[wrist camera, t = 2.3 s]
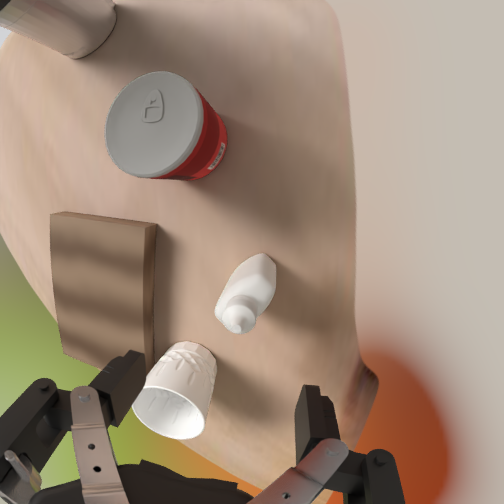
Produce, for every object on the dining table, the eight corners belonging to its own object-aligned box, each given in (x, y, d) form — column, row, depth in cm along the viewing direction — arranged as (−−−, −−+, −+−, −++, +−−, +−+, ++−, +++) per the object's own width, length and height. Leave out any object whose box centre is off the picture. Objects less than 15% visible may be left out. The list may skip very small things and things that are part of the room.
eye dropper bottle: (282, 288, 30) (284, 348, 18) (232, 299, 31) (207, 361, 19) (272, 249, 29) (269, 290, 18) (220, 262, 30) (187, 307, 18)
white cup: (151, 348, 33) (116, 394, 24) (199, 327, 32) (173, 377, 22) (184, 391, 35) (162, 443, 25) (233, 376, 33) (220, 432, 24)
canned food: (221, 99, 26) (191, 56, 16) (236, 171, 28) (211, 161, 17) (154, 119, 27) (99, 93, 16) (166, 188, 29) (111, 190, 18)
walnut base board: (64, 211, 30) (50, 214, 27) (156, 223, 30) (145, 227, 27) (74, 344, 35) (63, 353, 32) (154, 371, 34) (146, 384, 31)
